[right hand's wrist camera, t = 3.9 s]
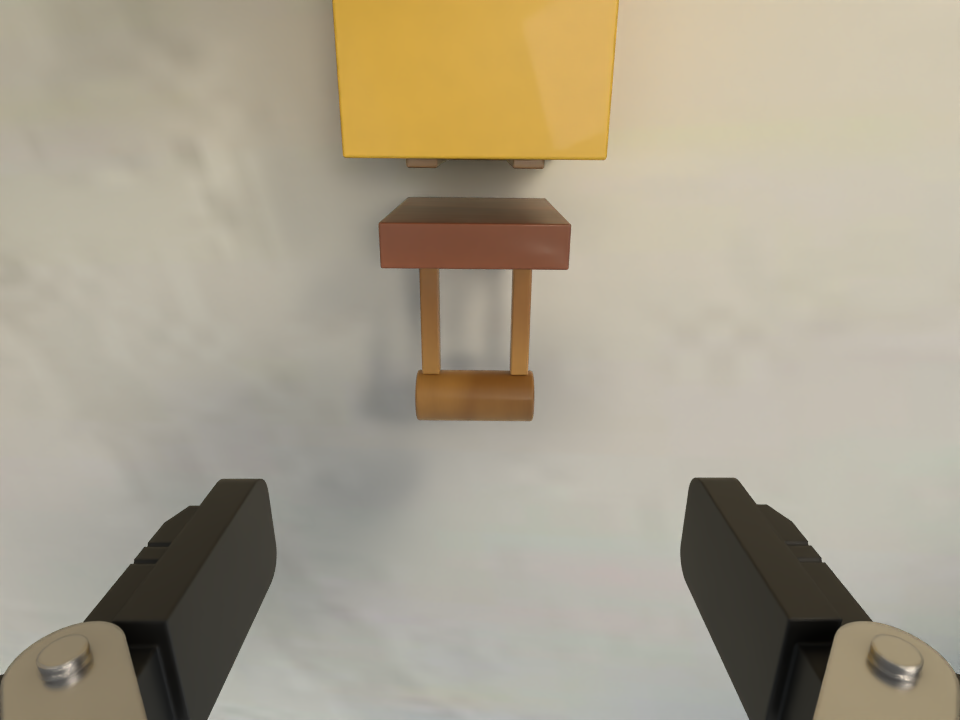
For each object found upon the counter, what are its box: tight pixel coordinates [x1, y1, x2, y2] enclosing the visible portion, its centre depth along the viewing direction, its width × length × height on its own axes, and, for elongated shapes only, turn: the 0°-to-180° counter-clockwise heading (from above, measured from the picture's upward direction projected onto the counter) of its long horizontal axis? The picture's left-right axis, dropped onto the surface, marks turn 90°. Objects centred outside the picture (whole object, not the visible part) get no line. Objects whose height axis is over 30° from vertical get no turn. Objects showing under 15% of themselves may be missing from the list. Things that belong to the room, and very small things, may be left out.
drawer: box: [379, 158, 571, 421], centre depth 17 cm, size 23×5×7 cm, turn 0°
